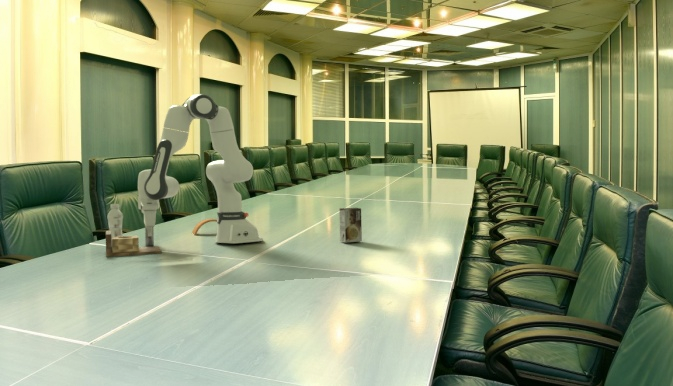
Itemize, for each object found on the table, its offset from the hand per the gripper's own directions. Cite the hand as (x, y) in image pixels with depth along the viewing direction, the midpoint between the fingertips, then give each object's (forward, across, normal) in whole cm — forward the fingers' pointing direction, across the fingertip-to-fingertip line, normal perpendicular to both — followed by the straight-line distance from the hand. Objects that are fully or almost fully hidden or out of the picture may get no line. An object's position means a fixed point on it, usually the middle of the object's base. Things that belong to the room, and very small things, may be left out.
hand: (149, 235), depth 223 cm
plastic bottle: (+6, -4, -14) cm, 16 cm away
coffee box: (+6, +23, +90) cm, 93 cm away
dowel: (+5, 0, 0) cm, 5 cm away
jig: (+5, +13, -7) cm, 16 cm away
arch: (+6, -25, +32) cm, 41 cm away
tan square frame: (+4, +13, -10) cm, 17 cm away
